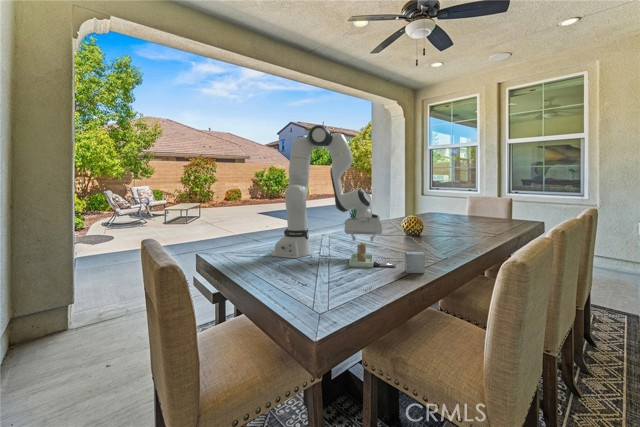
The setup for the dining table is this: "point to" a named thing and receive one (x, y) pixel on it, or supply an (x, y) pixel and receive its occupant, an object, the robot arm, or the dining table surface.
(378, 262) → the pin gauge
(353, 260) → the tray
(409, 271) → the medicine box
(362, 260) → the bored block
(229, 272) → the dining table surface
